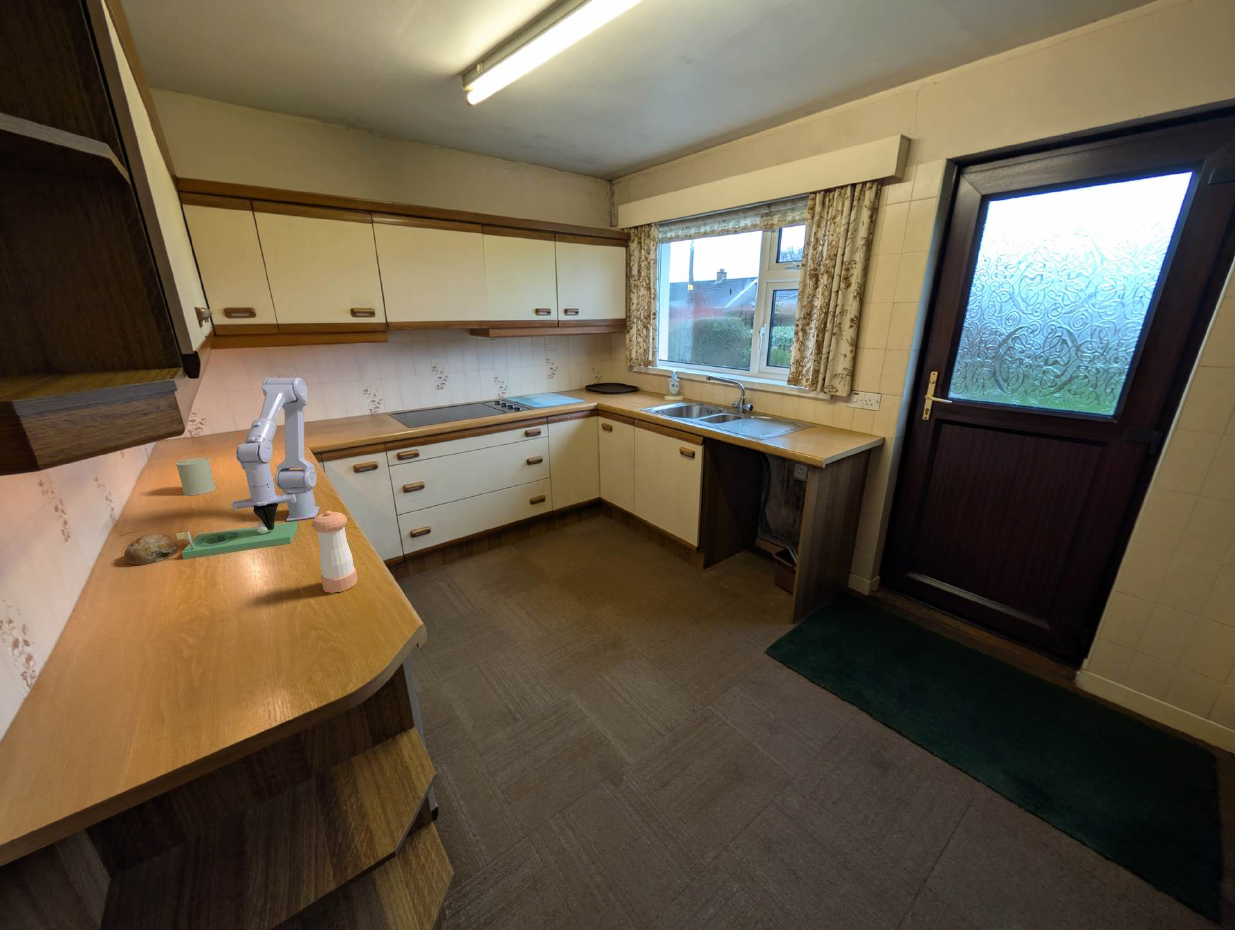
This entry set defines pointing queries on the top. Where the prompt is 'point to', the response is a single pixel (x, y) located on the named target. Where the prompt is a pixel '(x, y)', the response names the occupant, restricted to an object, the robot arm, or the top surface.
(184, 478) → the can
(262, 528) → the ball
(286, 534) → the green
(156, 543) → the brown rounded lump
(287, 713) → the top surface
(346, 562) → the pepper shaker
